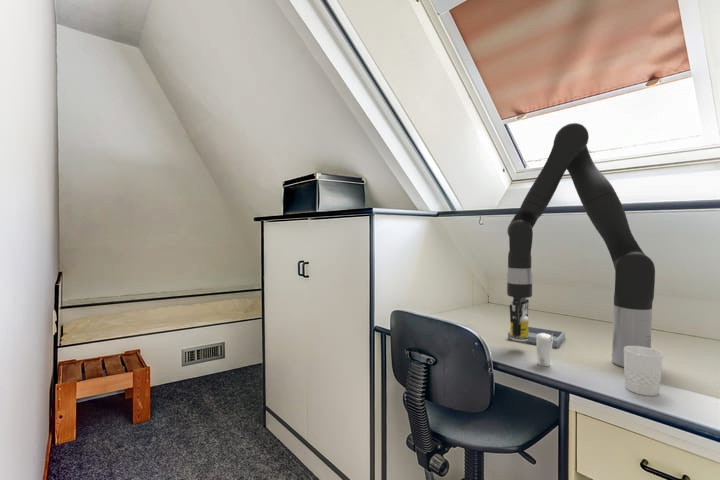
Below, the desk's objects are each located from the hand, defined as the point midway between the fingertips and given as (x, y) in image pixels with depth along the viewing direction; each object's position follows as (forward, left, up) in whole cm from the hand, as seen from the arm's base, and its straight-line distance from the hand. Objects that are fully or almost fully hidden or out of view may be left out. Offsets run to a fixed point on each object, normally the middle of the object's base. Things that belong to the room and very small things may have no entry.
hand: (519, 333), depth 126 cm
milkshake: (-10, +9, -6) cm, 14 cm away
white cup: (-33, +13, -6) cm, 36 cm away
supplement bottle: (0, 0, -2) cm, 2 cm away
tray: (-2, -17, -6) cm, 18 cm away
